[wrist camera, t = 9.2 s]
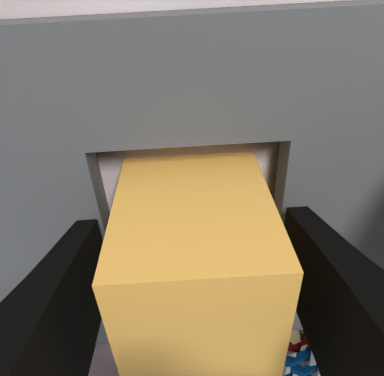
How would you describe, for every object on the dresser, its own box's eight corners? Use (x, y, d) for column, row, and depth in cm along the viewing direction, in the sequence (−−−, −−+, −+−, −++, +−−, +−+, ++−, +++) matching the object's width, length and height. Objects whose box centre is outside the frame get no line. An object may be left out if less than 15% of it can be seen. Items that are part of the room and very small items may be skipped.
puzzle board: (3, 328, 15) (-7, 350, 14) (-174, 29, 8) (-213, 37, 7) (411, 301, 15) (425, 321, 14) (566, -12, 8) (609, -9, 8)
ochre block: (140, 251, 13) (124, 391, 9) (124, 157, 10) (91, 286, 6) (246, 244, 13) (281, 381, 9) (252, 150, 11) (304, 272, 6)
